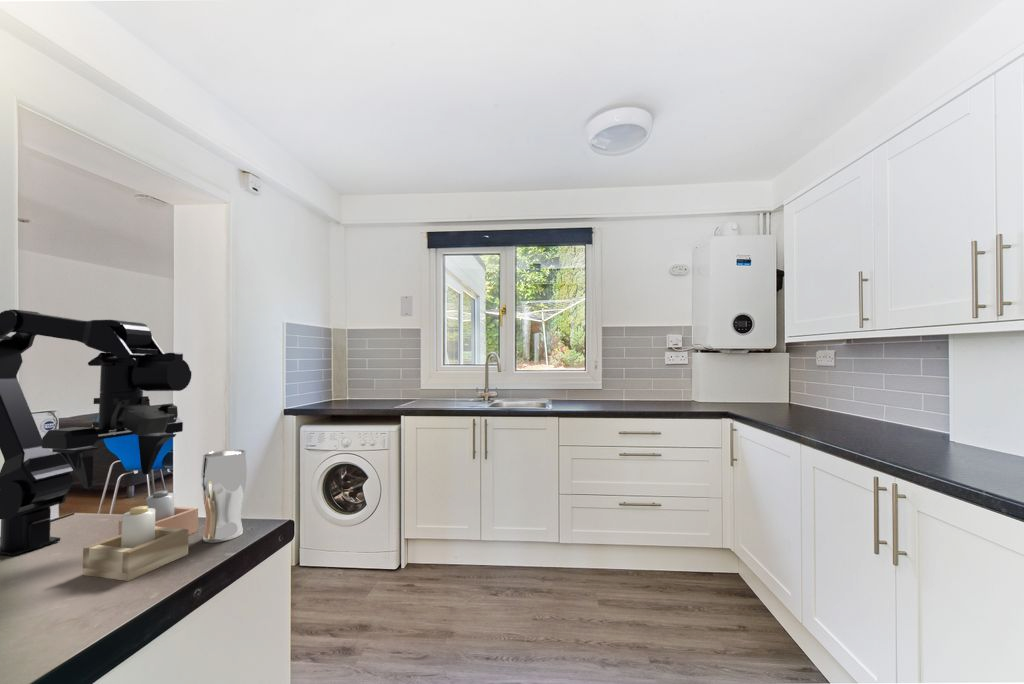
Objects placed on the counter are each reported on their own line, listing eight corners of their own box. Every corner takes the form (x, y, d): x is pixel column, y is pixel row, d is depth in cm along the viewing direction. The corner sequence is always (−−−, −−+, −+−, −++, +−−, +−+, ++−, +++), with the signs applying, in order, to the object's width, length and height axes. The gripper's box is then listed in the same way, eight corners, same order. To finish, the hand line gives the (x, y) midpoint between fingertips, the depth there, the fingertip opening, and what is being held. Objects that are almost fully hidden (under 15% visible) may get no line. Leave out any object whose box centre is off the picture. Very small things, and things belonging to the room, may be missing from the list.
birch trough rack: (82, 574, 65) (83, 547, 65) (145, 549, 74) (146, 525, 74) (128, 580, 63) (129, 552, 63) (188, 554, 71) (188, 529, 72)
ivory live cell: (113, 561, 67) (115, 511, 67) (141, 550, 71) (142, 503, 71) (133, 563, 66) (135, 513, 66) (160, 552, 70) (161, 504, 70)
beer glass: (223, 545, 75) (224, 457, 76) (189, 542, 76) (191, 456, 77) (254, 530, 82) (255, 449, 82) (223, 527, 83) (224, 448, 84)
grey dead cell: (140, 537, 78) (140, 494, 78) (164, 528, 81) (164, 488, 82) (156, 539, 76) (156, 496, 77) (179, 530, 80) (179, 489, 80)
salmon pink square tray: (118, 545, 76) (118, 520, 76) (164, 528, 83) (165, 505, 84) (153, 548, 74) (154, 523, 74) (197, 531, 82) (198, 508, 82)
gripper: (95, 395, 66) (91, 500, 65) (206, 388, 84) (204, 470, 83) (41, 395, 68) (37, 495, 68) (161, 388, 87) (158, 467, 86)
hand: (118, 480), depth 76 cm, fingers open, 9 cm apart
